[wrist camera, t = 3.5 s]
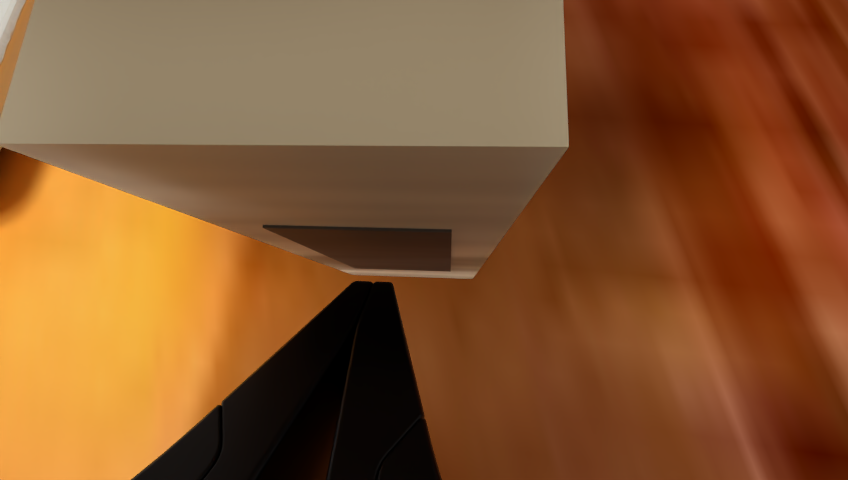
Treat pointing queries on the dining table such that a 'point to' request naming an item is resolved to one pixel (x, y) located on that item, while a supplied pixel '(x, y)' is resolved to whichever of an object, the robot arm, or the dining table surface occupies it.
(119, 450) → the dining table surface
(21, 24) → the square plate
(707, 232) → the dining table surface
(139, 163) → the metal block
